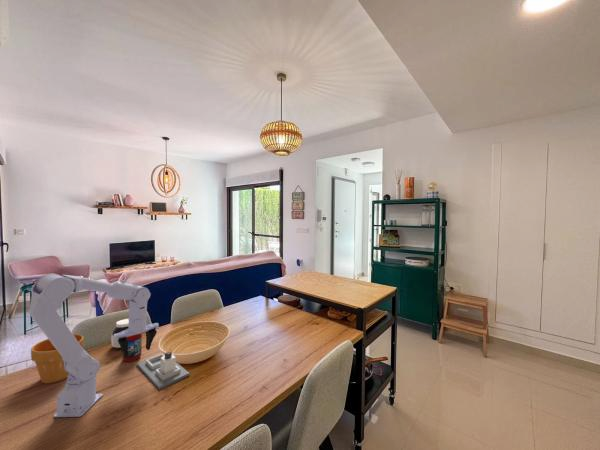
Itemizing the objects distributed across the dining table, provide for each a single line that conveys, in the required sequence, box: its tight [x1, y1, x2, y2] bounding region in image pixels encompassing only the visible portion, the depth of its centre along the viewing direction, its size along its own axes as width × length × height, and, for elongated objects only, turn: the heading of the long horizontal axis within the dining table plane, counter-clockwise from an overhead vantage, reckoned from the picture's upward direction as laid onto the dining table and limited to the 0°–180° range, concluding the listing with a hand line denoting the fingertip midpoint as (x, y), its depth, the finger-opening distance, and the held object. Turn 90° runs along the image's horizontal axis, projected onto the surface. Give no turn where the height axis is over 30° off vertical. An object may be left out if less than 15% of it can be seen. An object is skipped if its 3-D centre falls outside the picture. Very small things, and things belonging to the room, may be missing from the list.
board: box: [136, 353, 190, 390], centre depth 99 cm, size 22×11×2 cm, turn 51°
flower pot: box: [30, 333, 85, 384], centre depth 94 cm, size 14×14×13 cm
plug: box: [160, 351, 177, 375], centre depth 96 cm, size 4×4×8 cm
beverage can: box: [122, 333, 143, 362], centre depth 107 cm, size 7×7×12 cm
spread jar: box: [110, 318, 129, 350], centre depth 119 cm, size 12×11×12 cm
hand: (136, 352), depth 95 cm, fingers open, 7 cm apart
